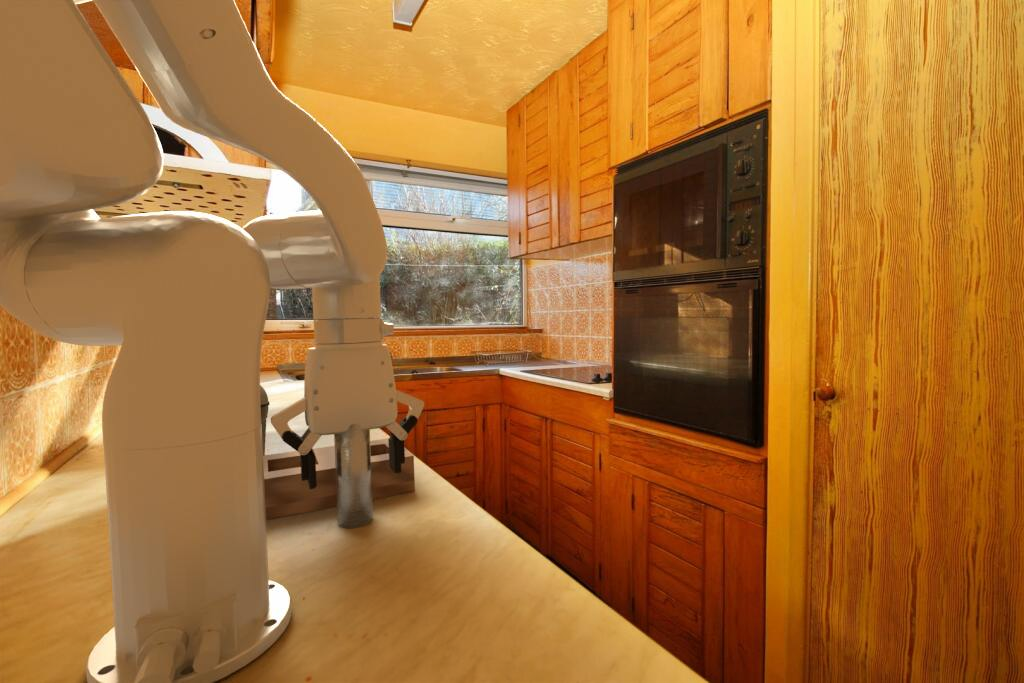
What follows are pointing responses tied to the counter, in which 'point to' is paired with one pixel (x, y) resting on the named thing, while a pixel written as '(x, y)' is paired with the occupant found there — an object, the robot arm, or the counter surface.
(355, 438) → the steel pin
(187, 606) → the robot arm
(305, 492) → the walnut block
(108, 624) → the counter surface
